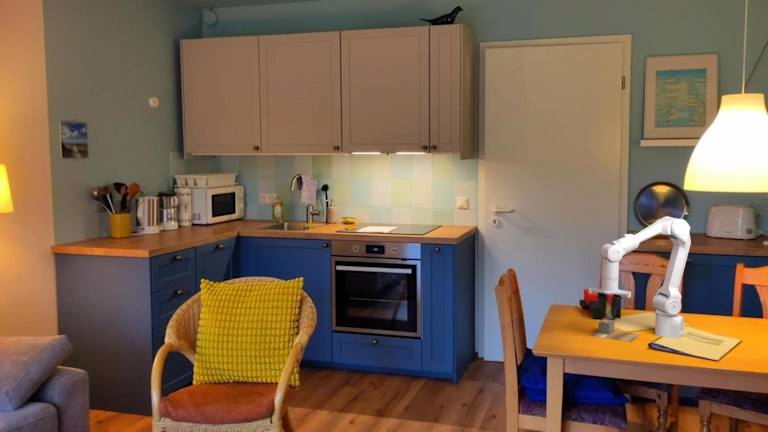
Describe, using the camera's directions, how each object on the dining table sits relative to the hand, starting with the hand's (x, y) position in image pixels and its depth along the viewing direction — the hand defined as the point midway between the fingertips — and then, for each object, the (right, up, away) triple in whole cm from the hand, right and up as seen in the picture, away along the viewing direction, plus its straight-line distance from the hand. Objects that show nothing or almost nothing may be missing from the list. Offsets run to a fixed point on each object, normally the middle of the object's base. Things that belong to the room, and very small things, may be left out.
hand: (609, 314), depth 255 cm
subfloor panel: (+3, -9, +4) cm, 10 cm away
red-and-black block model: (+9, -6, +38) cm, 39 cm away
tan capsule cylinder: (0, -1, 0) cm, 1 cm away
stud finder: (+1, -7, +8) cm, 11 cm away
